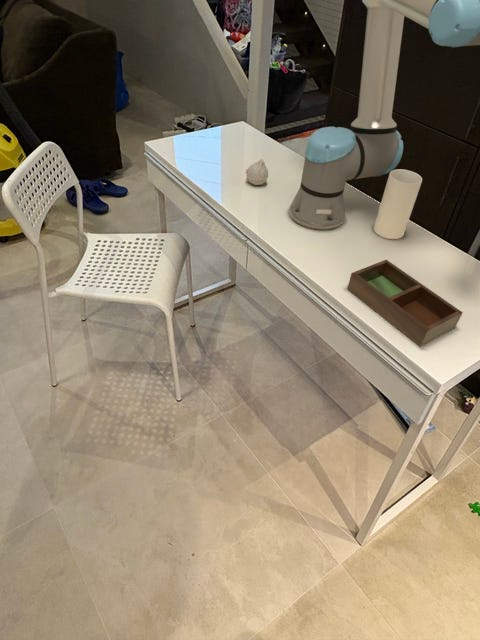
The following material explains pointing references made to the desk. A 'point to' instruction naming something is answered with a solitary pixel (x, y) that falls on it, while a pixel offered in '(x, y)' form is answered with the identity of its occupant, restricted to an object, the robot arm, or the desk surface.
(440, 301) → the holder
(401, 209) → the cup
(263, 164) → the garlic bulb
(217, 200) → the desk surface
